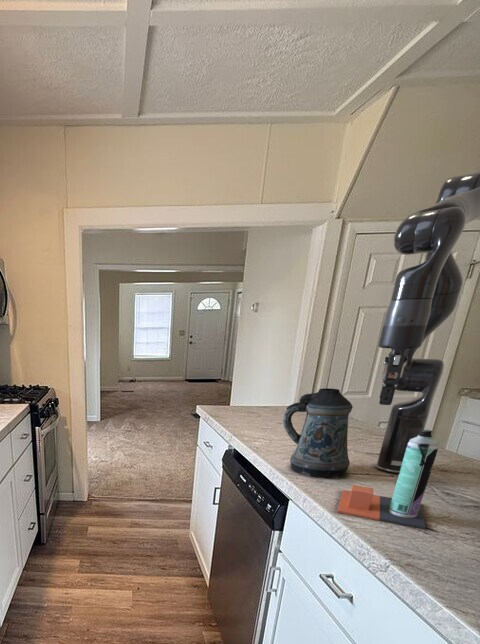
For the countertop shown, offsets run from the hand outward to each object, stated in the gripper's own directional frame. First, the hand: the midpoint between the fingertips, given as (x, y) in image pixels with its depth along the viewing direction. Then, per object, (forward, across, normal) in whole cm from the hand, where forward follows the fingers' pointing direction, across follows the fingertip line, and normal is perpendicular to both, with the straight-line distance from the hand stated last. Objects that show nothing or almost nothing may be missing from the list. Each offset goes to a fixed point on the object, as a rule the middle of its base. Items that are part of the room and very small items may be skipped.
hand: (384, 401), depth 90 cm
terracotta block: (+26, 0, 0) cm, 26 cm away
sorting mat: (+26, +2, -4) cm, 27 cm away
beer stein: (+26, +26, +13) cm, 39 cm away
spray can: (+26, 0, -9) cm, 27 cm away
